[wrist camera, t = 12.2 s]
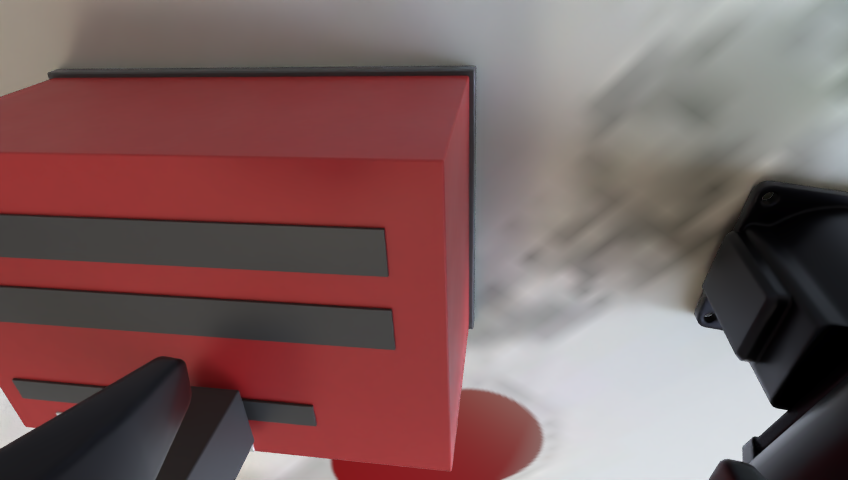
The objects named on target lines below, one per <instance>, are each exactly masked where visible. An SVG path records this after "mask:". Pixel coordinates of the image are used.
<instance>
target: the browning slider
mask: <svg viewBox="0 0 848 480" xmlns="http://www.w3.org/2000/svg"><path fill="white" fill-rule="evenodd" d="M191 391H192V397H191V402H190V405H189V407H188V409H187V412H186V414H185V416H184V418H183V420H182V422H181V425H180V427H179V429H178V431H177V433H176V436H175V438H174V440H173V442H172V444H171V447H170V449H169V451H168V453H167V455H166V457H165V460H164V462H163V464H162V466H161V468H160V471H159V473H158V475H157V477H156V479H155V480H235V479H236V477H237V475H238V473H239V471H240V469H241V467H242V465H243V463H244V461H245V459H246V457H247V455H248V453H249V451H250V449H251V447H252V445H253V443H254V437H253V434H252V431H251V427H250V424H249V421H248V418H247V415H246V411H245V408H244V405H243V402H242V399H241V395H240V392H239V390H231V389H220V388H208V387H197V386H191Z"/></svg>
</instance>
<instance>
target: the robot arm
mask: <svg viewBox="0 0 848 480" xmlns="http://www.w3.org/2000/svg"><path fill="white" fill-rule="evenodd" d="M769 192H773V195H772V196H771V198H769V199H767V200H762V197H763V196H764V195H765V194H767V193H769ZM702 288H703V290H704V292H703V294H702V296H701V298H700V301H699V303H698V305H697V307H696V309H695V313H694V314H695V317H696V319H697V321H698V323H699V324H700V325H701V326H704V327H707V328H713V329H719V330H723V331H724V333H725V335H726V337H727V339H728V341H729V343H730V345H731V347H732V349H733V351H734V353H735V354H736V356H737V357H738V358H739V359H740V360H741V361H747V362H749V363H750V365H751V367H752V368H753V370H754V372H755V374H756V376H757V378H758V380H759V382H760V384H761V386H762V388H763V390H764V392H765V393H766V395H767V397H768V399H769V401H770V403H771V405H772V406H773V407H775V408H778V409H784V410H788V411H787V412H786V413H785V414H784V415H783V416H781V417H780V418H779V419H778V420H777V421H776V422H775V423H774V424H773V425H771V426H770V427H769V428H768V429H767V430H766V431H765V432H764V433H763V434H762V435H760V436H759V437H753V438H752V439H750V440H749V441H748V442H747V443H746V444H745V445H744V446H743V448H742V450H743V462H741V461H735V460H730V459H724V460H722V461H720V463H719V464H718V466H717V467H716V469H715V470H714V472H713V474H712V475H711V477H710V478H709V480H848V192H843V191H837V190H830V189H823V188H816V187H809V186H802V185H795V184H789V183H782V182H775V181H765V182H762V183H759V184H758V185H756V186H755V187H754V188H753V190H752V191H751V193H750V195H749V197H748V199H747V201H746V203H745V205H744V208H743V210H742V212H741V214H740V216H739V218H738V220H737V222H736V224H735V227H734V229H733V231H732V232H730V233H729V234H727V235H726V236H725V238H724V240H723V242H722V244H721V246H720V248H719V251H718V253H717V255H716V257H715V259H714V261H713V263H712V266H711V268H710V270H709V272H708V274H707V276H706V278H705V281H704V283H703V285H702ZM709 313H713V314H712V315H711V316H709V317H705V315H706V314H709ZM191 397H192V391H191V385H190V380H189V375H188V370H187V366H186V363H185V362H184V361H183V360H182V359H178V358H173V357H167V356H160V357H157V358H155V359H153V360H151V361H150V362H148V363H146V364H145V365H143V366H141V367H139V368H138V369H136V370H134V371H133V372H131V373H129V374H127V375H126V376H124V377H122V378H121V379H119V380H117V381H115V382H114V383H112V384H110V385H109V386H107V387H105V388H103V389H102V390H100V391H98V392H97V393H95V394H93V395H92V396H90V397H88V398H86V399H85V400H83V401H81V402H80V403H78V404H76V405H74V406H73V407H71V408H69V409H68V410H66V411H64V412H62V413H61V414H59V415H57V416H56V417H54V418H52V419H50V420H49V421H47V422H45V423H44V424H42V425H40V426H39V427H37V428H35V429H33V430H32V431H30V432H28V433H27V434H25V435H23V436H21V437H20V438H18V439H16V440H15V441H13V442H11V443H9V444H8V445H6V446H4V447H3V448H1V449H0V480H155V479H156V477H157V475H158V473H159V471H160V468H161V466H162V464H163V462H164V460H165V457H166V455H167V453H168V451H169V449H170V447H171V444H172V442H173V440H174V438H175V436H176V433H177V431H178V429H179V427H180V425H181V422H182V420H183V418H184V416H185V414H186V412H187V409H188V407H189V405H190V402H191Z"/></svg>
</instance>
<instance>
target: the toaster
mask: <svg viewBox="0 0 848 480" xmlns="http://www.w3.org/2000/svg"><path fill="white" fill-rule="evenodd" d="M48 77H49V79H50V80H47V81H44V82H41V83H39V84H36V85H33V86H30V87H27V88H24V89H21V90H19V91H16V92H13V93H10V94H7V95H4V96H2V97H0V387H1V389H2V390H3V392H4V393H5V395H6V397H7V398H8V400H9V401H10V403H11V404H12V406H13V408H14V409H15V411H16V412H17V414H18V416H19V417H20V419H21V420H22V422H23V423H24V425H25V426H26V427H32V428H37V427H39V426H40V425H42V424H44V423H45V422H47V421H49V420H50V419H52V418H54V417H56V416H57V415H59V414H61V413H62V412H64V411H66V410H68V409H69V408H71V407H73V406H74V405H76V404H78V403H80V402H81V401H83V400H85V399H86V398H88V397H90V396H92V395H93V394H95V393H97V392H98V391H100V390H102V389H103V388H105V387H107V386H109V385H110V384H112V383H114V382H115V381H117V380H119V379H121V378H122V377H124V376H126V375H127V374H129V373H131V372H133V371H134V370H136V369H138V368H139V367H141V366H143V365H145V364H146V363H148V362H150V361H151V360H153V359H155V358H157V357H160V356H167V357H173V358H178V359H182V360H183V361H184V362H185V363H186V366H187V370H188V375H189V380H190V385H191V386H197V387H208V388H220V389H231V390H239V392H240V395H241V399H242V402H243V405H244V408H245V411H246V415H247V418H248V421H249V424H250V427H251V431H252V434H253V437H254V443H253V445H252V447H251V449H250V451H252V452H254V451H261V452H271V453H280V454H290V455H299V456H309V457H318V458H328V459H337V460H347V461H357V462H366V463H377V464H386V465H395V466H404V467H414V468H423V469H433V470H443V471H451V470H452V464H453V456H454V447H455V438H456V429H457V422H458V412H459V404H460V396H461V387H462V379H463V370H464V362H465V353H466V345H467V336H468V329H473V327H474V275H475V146H476V66H397V67H278V68H158V69H57V70H54V71H51V72H49V73H48Z"/></svg>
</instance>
